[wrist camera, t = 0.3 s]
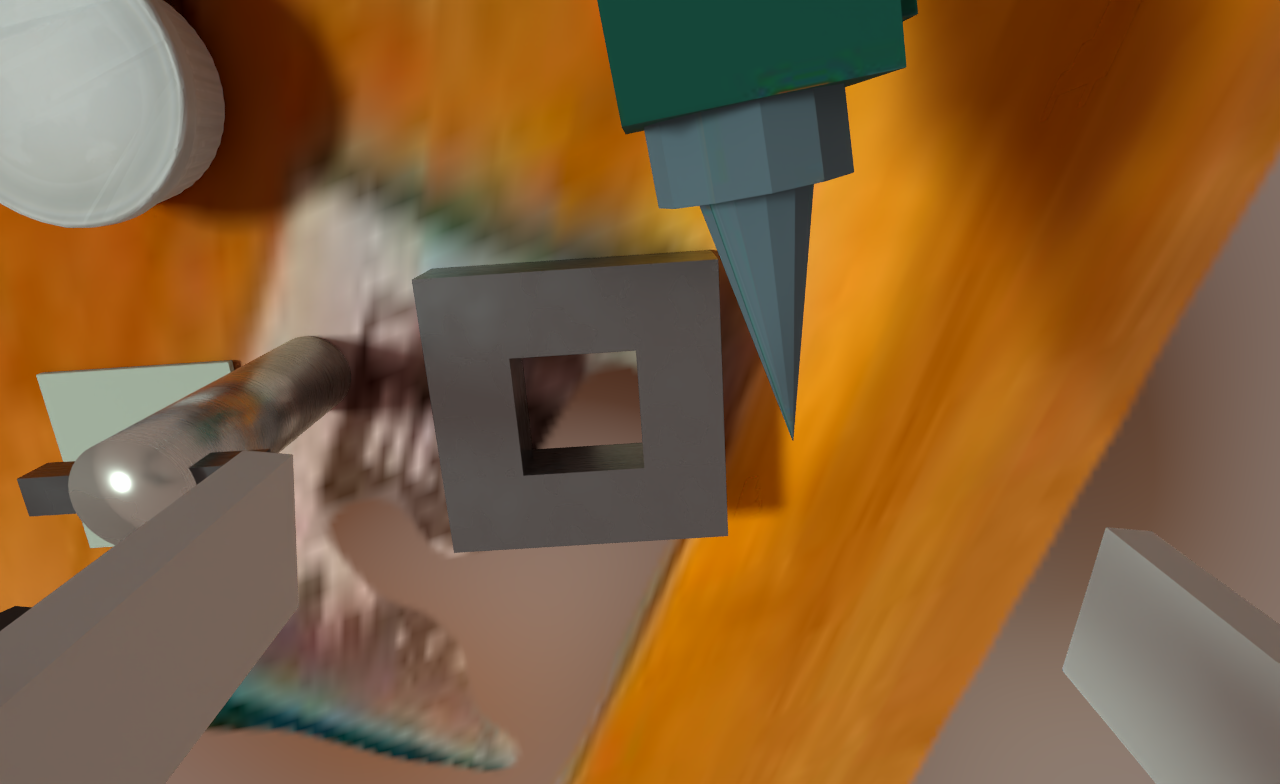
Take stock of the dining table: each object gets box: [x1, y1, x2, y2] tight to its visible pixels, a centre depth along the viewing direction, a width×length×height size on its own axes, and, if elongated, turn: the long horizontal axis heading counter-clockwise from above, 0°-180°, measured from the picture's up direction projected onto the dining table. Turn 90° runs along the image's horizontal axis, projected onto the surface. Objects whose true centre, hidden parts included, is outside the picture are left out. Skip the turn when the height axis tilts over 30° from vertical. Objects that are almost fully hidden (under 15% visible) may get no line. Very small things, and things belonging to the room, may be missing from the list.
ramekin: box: [0, 0, 225, 228], centre depth 33 cm, size 11×11×5 cm
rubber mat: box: [36, 360, 234, 548], centre depth 41 cm, size 10×10×1 cm
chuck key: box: [17, 336, 351, 545], centre depth 33 cm, size 4×8×15 cm, turn 94°
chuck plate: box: [412, 250, 728, 553], centre depth 38 cm, size 14×14×4 cm
